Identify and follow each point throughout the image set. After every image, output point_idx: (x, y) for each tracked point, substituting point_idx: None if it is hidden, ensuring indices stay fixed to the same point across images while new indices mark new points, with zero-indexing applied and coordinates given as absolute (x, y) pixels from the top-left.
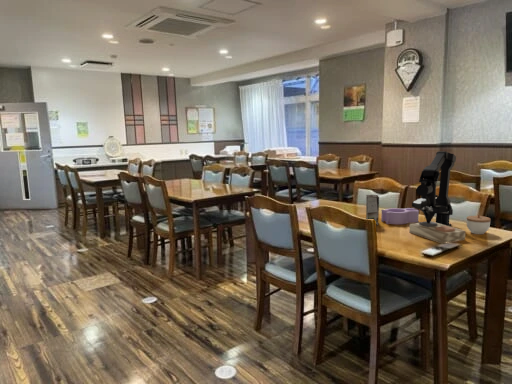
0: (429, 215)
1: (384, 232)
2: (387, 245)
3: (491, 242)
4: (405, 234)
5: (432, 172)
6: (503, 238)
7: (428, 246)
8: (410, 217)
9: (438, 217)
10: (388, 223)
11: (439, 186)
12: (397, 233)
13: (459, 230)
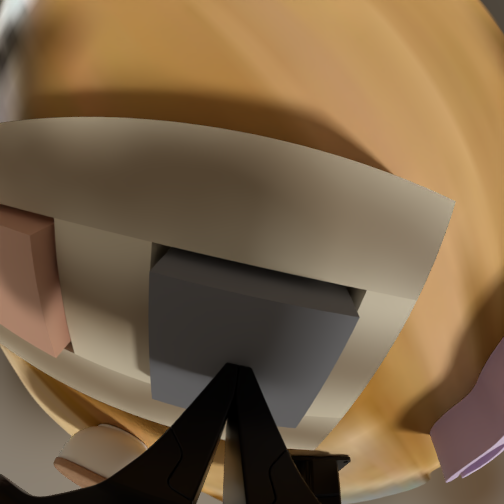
0: (134, 460)
1: (495, 44)
2: None
3: None
4: (376, 77)
5: None
6: (42, 404)
7: (44, 6)
8: (473, 421)
9: (320, 494)
10: None
11: None
12: (439, 66)
13: (1, 329)
